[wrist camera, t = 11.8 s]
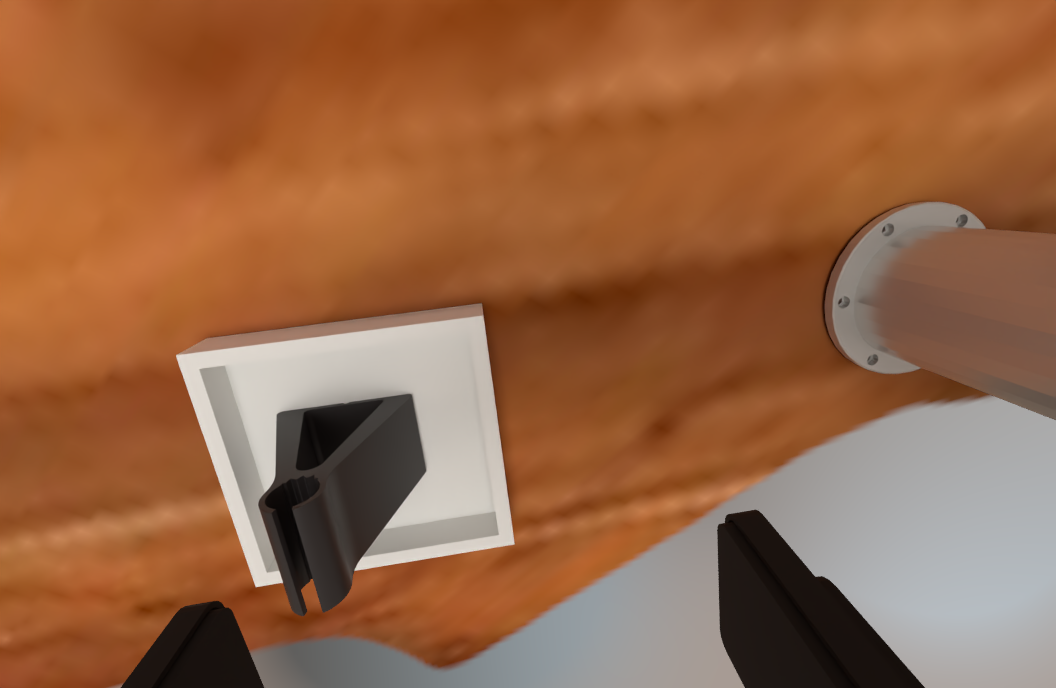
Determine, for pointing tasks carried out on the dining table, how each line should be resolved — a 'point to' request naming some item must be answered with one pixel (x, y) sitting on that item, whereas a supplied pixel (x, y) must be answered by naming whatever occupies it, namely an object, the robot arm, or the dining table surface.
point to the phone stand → (337, 489)
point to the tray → (353, 375)
